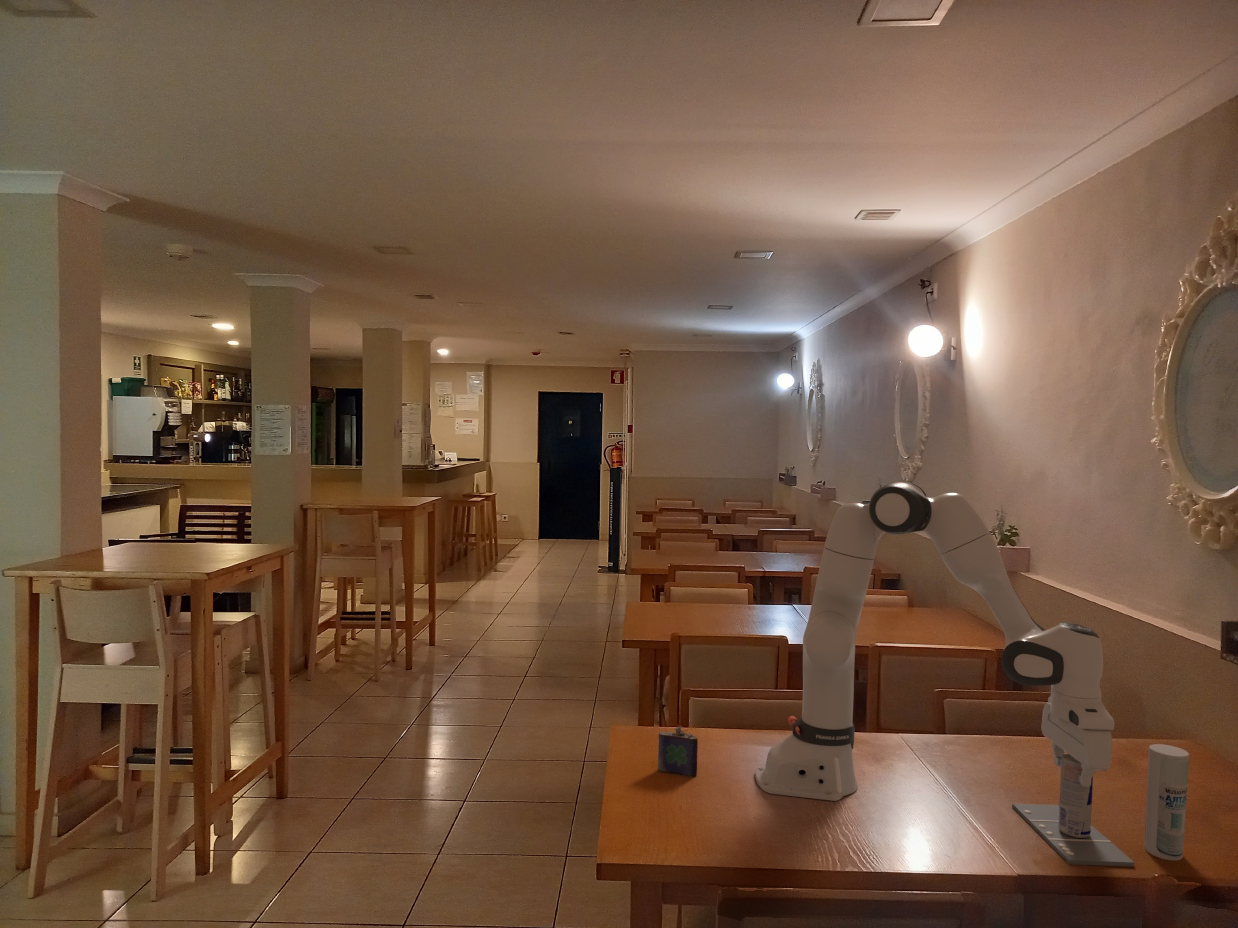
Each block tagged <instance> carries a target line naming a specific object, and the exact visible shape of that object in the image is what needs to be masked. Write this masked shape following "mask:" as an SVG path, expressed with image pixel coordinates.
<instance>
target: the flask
mask: <svg viewBox="0 0 1238 928" xmlns="http://www.w3.org/2000/svg"><path fill="white" fill-rule="evenodd" d="M682 728H683V726H682V725H680V726H676V728H674V730H675V732H672V731H660V732H659V733H658V754H657V771H658V772H660V773H663V774H669V775H672V776H673V775H674V776H682V777H683V776H684V777H687V778H696V777H697V774H698V743H699V742H698V737H697V736H696V735H693V734H691V733H687V732H685V731H684V730H682Z"/></svg>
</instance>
